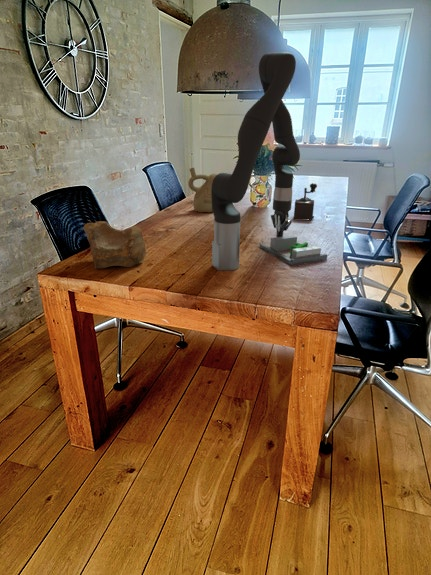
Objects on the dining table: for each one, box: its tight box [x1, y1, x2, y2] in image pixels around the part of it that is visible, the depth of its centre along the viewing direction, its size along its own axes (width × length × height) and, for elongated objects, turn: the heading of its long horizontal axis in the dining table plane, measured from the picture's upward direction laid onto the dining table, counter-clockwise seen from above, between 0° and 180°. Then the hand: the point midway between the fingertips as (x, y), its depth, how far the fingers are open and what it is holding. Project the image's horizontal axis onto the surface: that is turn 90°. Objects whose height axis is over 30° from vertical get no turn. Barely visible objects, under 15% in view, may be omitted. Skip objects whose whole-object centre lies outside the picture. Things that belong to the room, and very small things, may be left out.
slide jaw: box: [269, 234, 298, 252], centre depth 159 cm, size 11×3×5 cm, turn 113°
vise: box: [259, 243, 328, 267], centre depth 154 cm, size 16×25×5 cm, turn 23°
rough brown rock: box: [83, 220, 147, 270], centre depth 138 cm, size 23×17×15 cm
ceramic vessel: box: [187, 167, 218, 213], centre depth 223 cm, size 17×20×25 cm
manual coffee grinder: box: [293, 183, 318, 221], centre depth 211 cm, size 16×11×18 cm
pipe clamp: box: [289, 242, 309, 258], centre depth 152 cm, size 11×4×5 cm, turn 144°
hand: (279, 239), depth 161 cm, fingers closed
